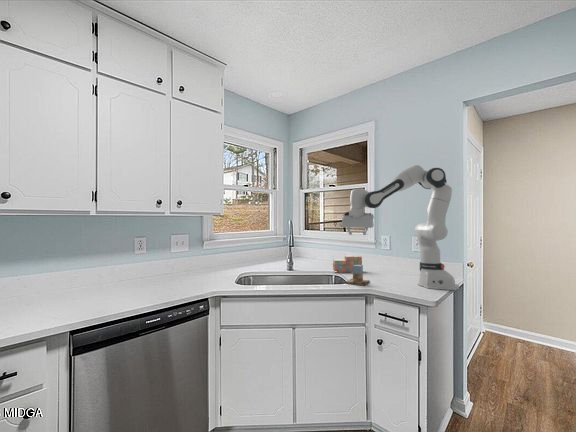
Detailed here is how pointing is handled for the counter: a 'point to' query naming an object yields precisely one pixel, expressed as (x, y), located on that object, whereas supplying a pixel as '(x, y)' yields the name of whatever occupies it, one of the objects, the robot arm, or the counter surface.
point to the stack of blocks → (346, 263)
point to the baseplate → (358, 282)
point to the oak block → (358, 277)
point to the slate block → (357, 269)
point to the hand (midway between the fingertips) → (357, 234)
